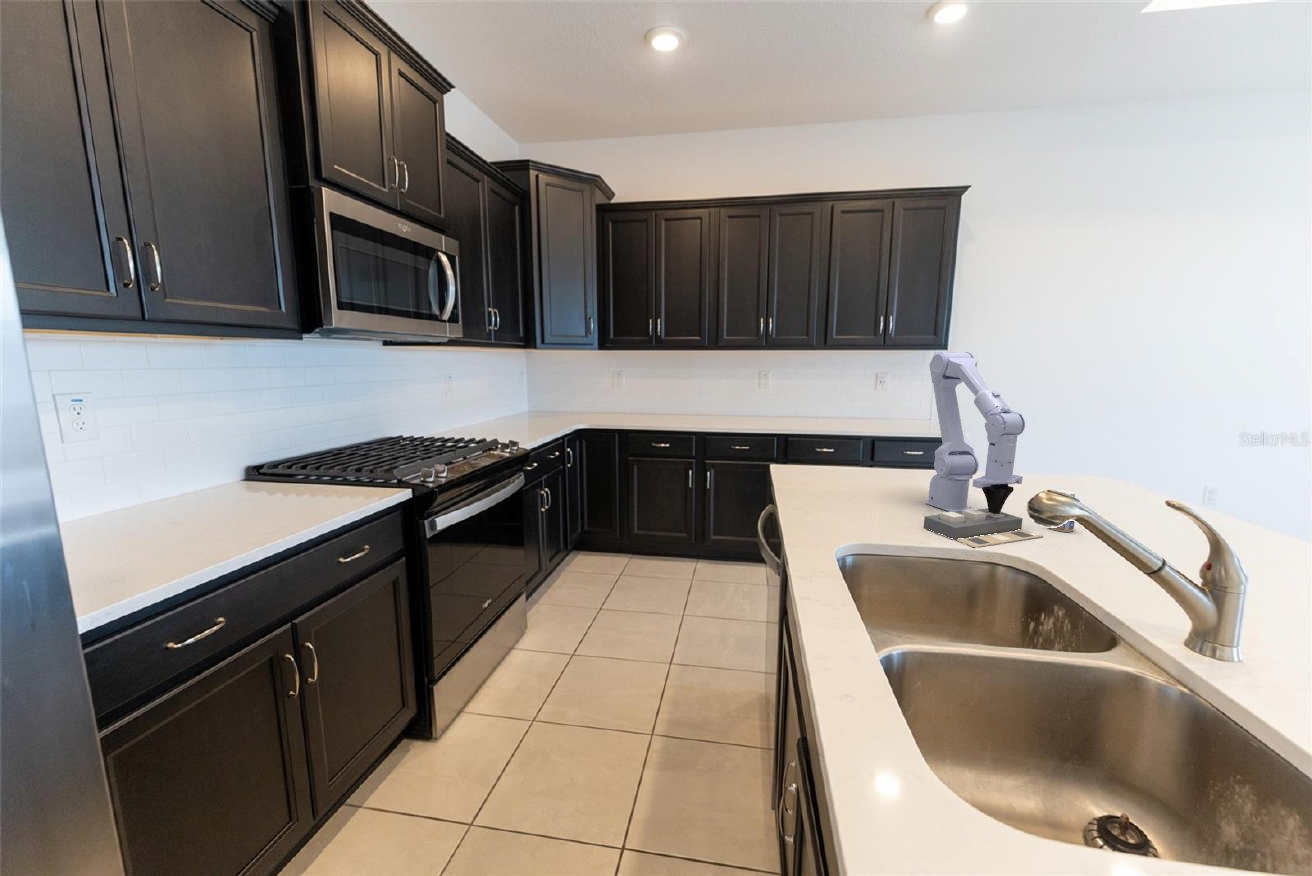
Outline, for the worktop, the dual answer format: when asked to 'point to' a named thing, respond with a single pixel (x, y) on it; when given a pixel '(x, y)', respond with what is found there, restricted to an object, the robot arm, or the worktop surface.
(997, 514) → the button end far
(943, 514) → the button end near
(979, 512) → the button middle
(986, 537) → the pattern card
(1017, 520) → the button board
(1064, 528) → the pill bottle
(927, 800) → the worktop surface
